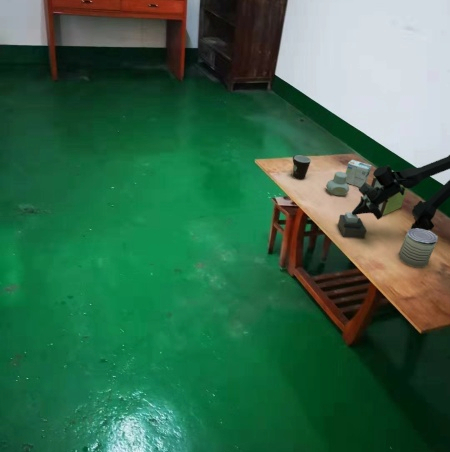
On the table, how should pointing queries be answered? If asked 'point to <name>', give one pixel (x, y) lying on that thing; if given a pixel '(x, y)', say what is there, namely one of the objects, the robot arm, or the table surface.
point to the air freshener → (338, 184)
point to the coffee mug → (300, 166)
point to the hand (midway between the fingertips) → (352, 213)
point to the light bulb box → (357, 173)
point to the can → (417, 247)
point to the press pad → (350, 218)
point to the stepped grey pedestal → (351, 228)
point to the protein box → (390, 199)
